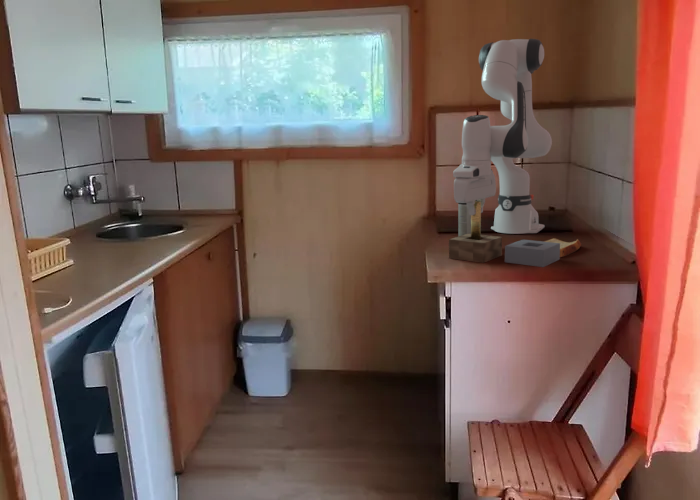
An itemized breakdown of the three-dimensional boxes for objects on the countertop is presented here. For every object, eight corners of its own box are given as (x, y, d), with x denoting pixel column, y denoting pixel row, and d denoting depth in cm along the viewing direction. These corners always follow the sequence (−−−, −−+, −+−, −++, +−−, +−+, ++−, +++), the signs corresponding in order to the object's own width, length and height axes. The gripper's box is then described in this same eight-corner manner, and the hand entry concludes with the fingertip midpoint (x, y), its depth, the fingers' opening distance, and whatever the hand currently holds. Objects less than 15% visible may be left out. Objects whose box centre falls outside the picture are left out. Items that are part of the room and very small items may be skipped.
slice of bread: (547, 259, 177) (547, 247, 176) (521, 248, 194) (522, 237, 194) (601, 256, 179) (602, 244, 179) (571, 245, 197) (572, 234, 196)
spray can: (478, 248, 195) (478, 189, 191) (457, 248, 196) (458, 189, 192) (478, 244, 201) (478, 187, 197) (458, 244, 203) (458, 187, 198)
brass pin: (473, 238, 184) (474, 200, 181) (482, 239, 182) (482, 201, 179) (469, 239, 182) (469, 202, 179) (477, 240, 180) (477, 202, 177)
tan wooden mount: (468, 251, 191) (468, 233, 190) (501, 255, 183) (502, 236, 182) (448, 258, 182) (448, 239, 181) (483, 262, 174) (483, 243, 173)
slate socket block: (522, 254, 183) (522, 239, 182) (559, 259, 175) (560, 243, 174) (504, 262, 174) (505, 245, 173) (543, 267, 166) (543, 250, 165)
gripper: (483, 166, 187) (482, 208, 190) (449, 172, 172) (450, 217, 175) (501, 166, 183) (500, 210, 186) (468, 172, 168) (468, 219, 171)
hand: (475, 214), depth 180 cm, fingers closed on brass pin, 3 cm apart
